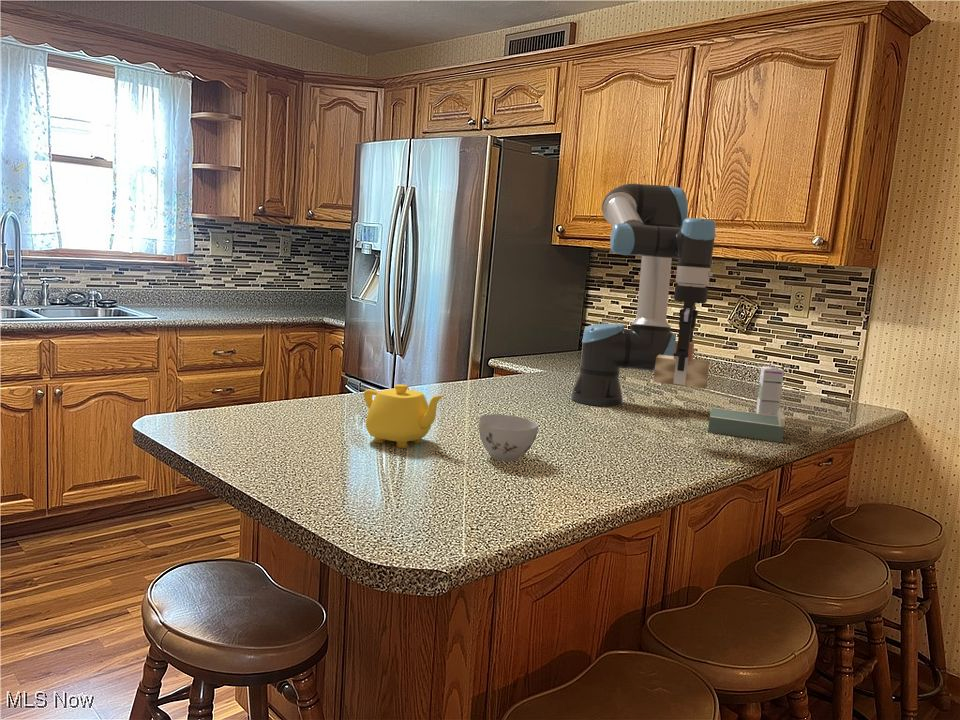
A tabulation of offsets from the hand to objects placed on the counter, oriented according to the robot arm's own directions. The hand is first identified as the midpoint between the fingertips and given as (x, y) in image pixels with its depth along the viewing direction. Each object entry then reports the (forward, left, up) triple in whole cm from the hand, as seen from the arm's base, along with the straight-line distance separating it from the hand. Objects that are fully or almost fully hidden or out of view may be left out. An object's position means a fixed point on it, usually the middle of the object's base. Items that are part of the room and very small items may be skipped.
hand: (680, 381), depth 181 cm
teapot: (-54, -39, -15) cm, 69 cm away
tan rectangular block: (0, 0, 0) cm, 0 cm away
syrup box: (+23, +50, -15) cm, 57 cm away
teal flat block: (+16, +23, -15) cm, 32 cm away
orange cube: (0, 0, +6) cm, 6 cm away
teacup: (-31, -37, -15) cm, 50 cm away
